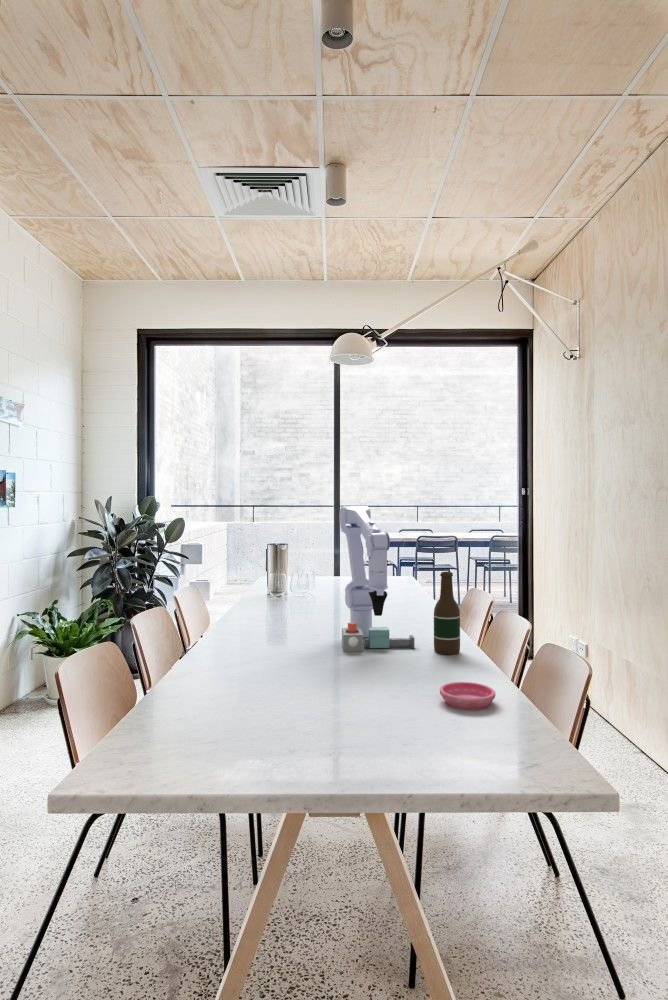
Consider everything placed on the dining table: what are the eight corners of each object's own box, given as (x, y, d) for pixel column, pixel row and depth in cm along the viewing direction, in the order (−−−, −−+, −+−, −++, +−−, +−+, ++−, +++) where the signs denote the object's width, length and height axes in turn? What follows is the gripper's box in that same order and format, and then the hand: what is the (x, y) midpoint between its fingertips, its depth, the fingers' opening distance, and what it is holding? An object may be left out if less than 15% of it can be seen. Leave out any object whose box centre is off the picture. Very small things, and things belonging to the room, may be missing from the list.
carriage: (368, 644, 200) (368, 627, 200) (387, 644, 200) (387, 627, 200) (369, 648, 195) (369, 630, 195) (389, 647, 196) (389, 630, 196)
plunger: (347, 635, 199) (347, 622, 199) (356, 635, 199) (356, 622, 199) (348, 637, 196) (347, 624, 196) (357, 637, 196) (357, 624, 196)
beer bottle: (448, 656, 186) (448, 574, 186) (428, 651, 192) (428, 572, 192) (465, 652, 191) (465, 572, 191) (445, 647, 197) (444, 569, 197)
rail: (364, 645, 200) (364, 635, 200) (412, 645, 200) (412, 635, 200) (365, 648, 196) (365, 638, 196) (414, 648, 196) (414, 637, 196)
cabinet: (341, 643, 202) (341, 628, 202) (360, 643, 203) (360, 627, 203) (343, 651, 192) (343, 635, 192) (363, 651, 192) (363, 635, 192)
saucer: (498, 697, 149) (497, 684, 149) (492, 715, 137) (492, 700, 137) (444, 692, 153) (444, 679, 153) (435, 709, 141) (434, 694, 141)
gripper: (363, 568, 205) (363, 611, 205) (366, 574, 190) (367, 620, 190) (385, 568, 205) (385, 610, 205) (390, 574, 190) (390, 619, 190)
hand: (378, 615), depth 198 cm, fingers closed
